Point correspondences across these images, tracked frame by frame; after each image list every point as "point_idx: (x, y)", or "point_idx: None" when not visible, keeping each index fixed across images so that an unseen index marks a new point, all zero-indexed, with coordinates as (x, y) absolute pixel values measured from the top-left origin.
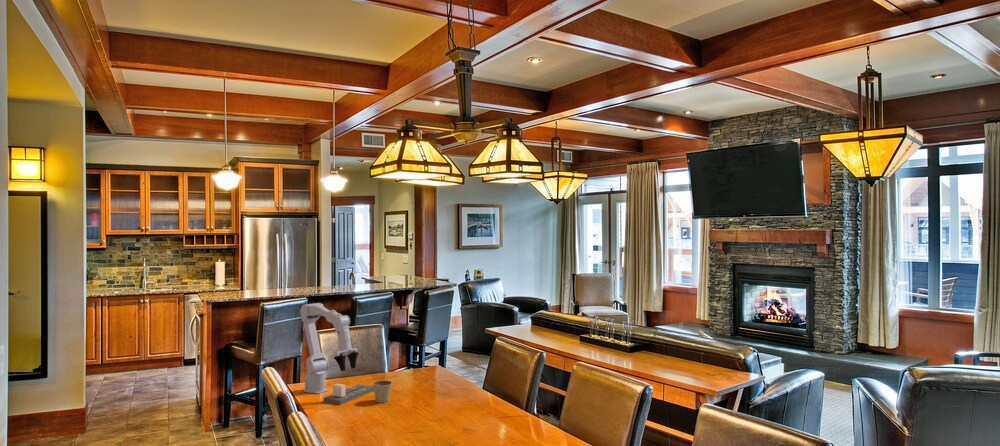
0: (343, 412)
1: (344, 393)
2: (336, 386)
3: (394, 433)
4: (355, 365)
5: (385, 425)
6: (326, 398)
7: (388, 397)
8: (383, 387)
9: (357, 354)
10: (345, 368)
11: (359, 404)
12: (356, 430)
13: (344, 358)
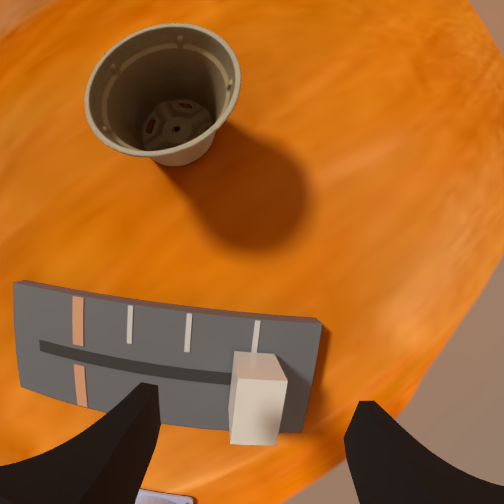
0: (409, 231)
1: (244, 356)
2: (279, 417)
3: (461, 9)
4: (134, 397)
5: (440, 31)
6: (304, 416)
7: (175, 86)
8: (221, 54)
9: (13, 480)
10: (367, 411)
11: (276, 220)
12: (500, 103)
13: (459, 494)
